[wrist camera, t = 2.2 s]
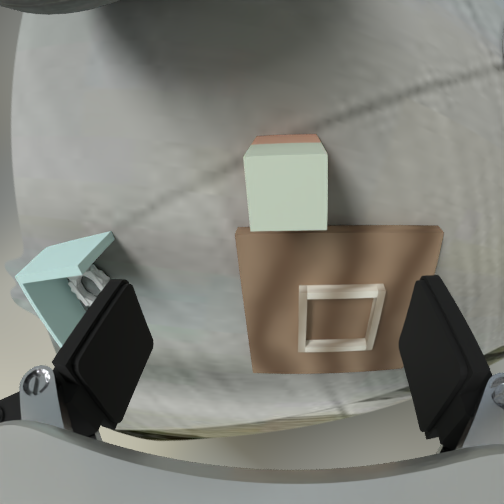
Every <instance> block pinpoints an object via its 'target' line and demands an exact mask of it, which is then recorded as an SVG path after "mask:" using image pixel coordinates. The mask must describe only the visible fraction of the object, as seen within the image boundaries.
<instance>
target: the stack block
mask: <svg viewBox="0 0 504 504" xmlns="http://www.w3.org/2000/svg"><path fill="white" fill-rule="evenodd" d="M243 160H244V170H245V180H246V191H247V201H248V211H249V221H250V231H300V230H327V207H328V154H327V152H326V151H325V149H324V147H323V145H322V143H321V141H320V140H319V138H318V136H317V134H297V135H269V136H257V137H256V138H255V140H254V141H253V143H252V144H251V146H250V147H249V149H248V150H247V152H246V153H245V155H244V157H243Z"/></svg>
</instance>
